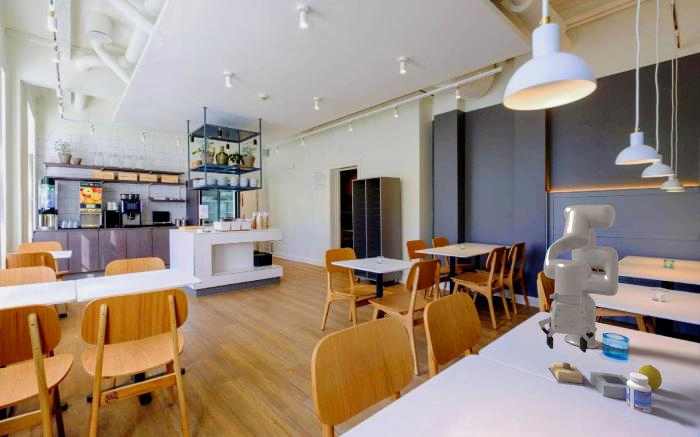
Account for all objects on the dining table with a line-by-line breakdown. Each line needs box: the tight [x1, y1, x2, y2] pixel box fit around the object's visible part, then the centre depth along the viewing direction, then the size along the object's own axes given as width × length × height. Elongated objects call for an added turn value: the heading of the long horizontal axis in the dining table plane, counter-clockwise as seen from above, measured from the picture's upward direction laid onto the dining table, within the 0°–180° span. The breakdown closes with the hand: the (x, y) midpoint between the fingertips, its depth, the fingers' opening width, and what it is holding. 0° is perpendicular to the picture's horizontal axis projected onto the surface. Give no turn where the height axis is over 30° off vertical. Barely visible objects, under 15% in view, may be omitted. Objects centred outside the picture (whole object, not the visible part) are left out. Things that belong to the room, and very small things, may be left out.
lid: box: [550, 361, 583, 383], centre depth 111 cm, size 7×7×4 cm
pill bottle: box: [625, 372, 652, 414], centre depth 94 cm, size 5×5×10 cm
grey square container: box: [589, 371, 629, 400], centre depth 103 cm, size 9×9×4 cm
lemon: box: [638, 364, 663, 390], centre depth 104 cm, size 6×6×8 cm
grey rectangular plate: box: [547, 367, 587, 388], centre depth 111 cm, size 11×8×1 cm
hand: (566, 349), depth 111 cm, fingers open, 9 cm apart
